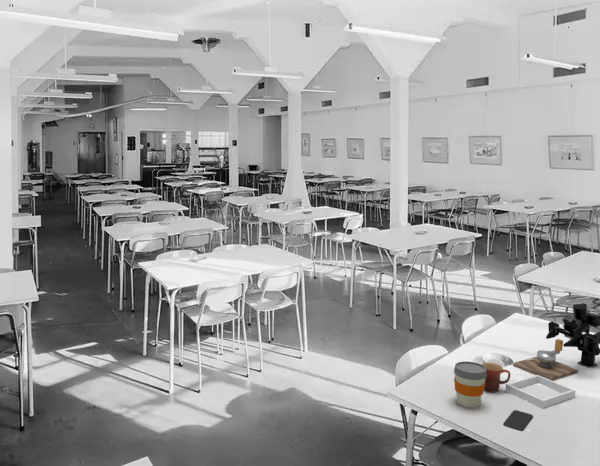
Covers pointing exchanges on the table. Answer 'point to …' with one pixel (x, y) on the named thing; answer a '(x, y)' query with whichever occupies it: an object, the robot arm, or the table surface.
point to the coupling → (550, 353)
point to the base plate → (545, 368)
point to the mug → (494, 377)
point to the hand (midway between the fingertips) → (554, 341)
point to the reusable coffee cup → (469, 383)
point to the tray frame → (513, 389)
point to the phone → (518, 420)
